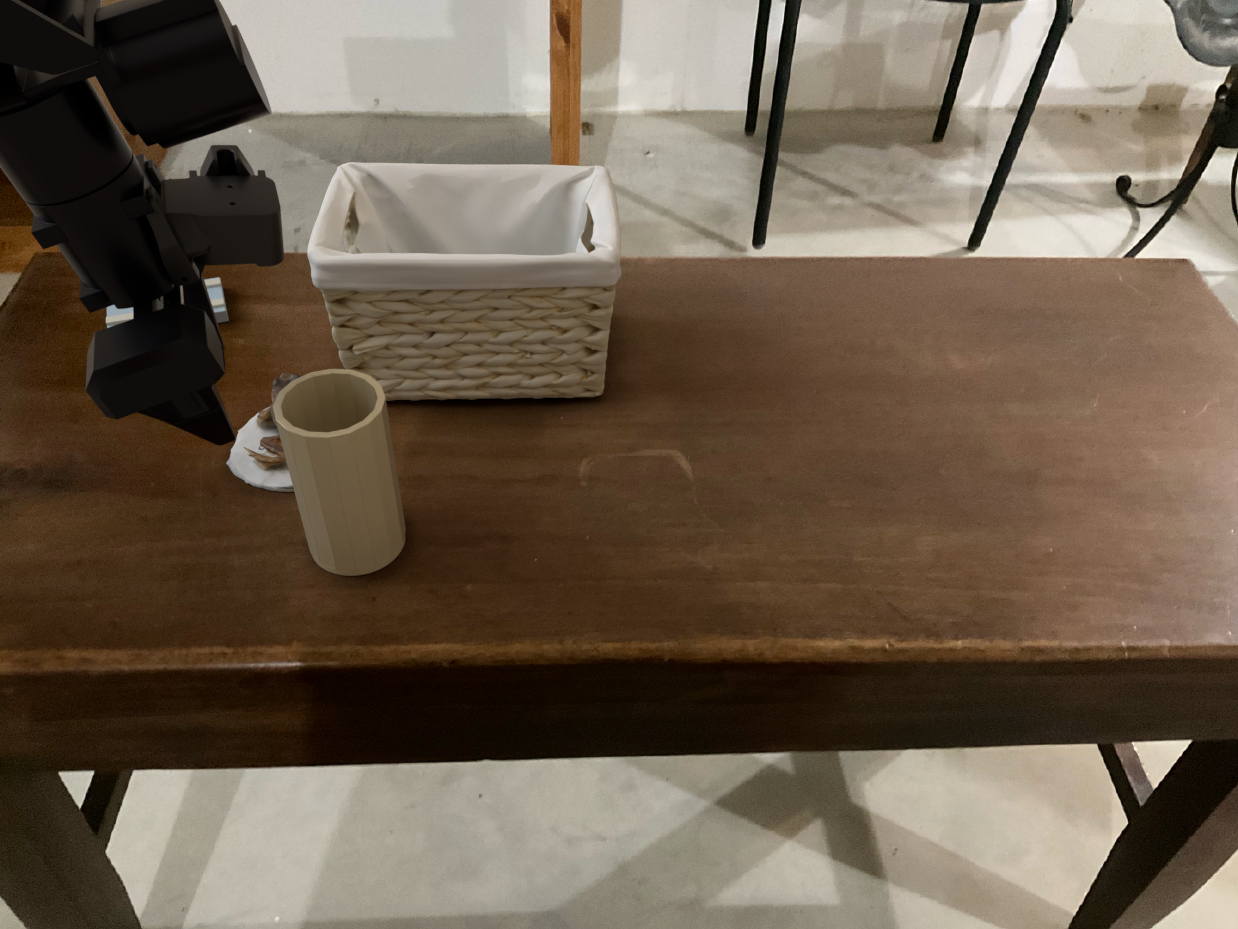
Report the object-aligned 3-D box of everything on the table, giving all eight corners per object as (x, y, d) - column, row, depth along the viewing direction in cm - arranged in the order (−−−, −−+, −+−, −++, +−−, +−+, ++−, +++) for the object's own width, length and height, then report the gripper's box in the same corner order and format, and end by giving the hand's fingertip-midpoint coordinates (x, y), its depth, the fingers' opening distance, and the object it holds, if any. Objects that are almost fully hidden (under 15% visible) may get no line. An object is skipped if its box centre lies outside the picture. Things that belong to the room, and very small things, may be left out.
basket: (330, 411, 80) (298, 255, 69) (358, 302, 91) (334, 155, 81) (617, 410, 81) (626, 258, 71) (607, 304, 93) (614, 160, 83)
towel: (111, 341, 85) (105, 327, 84) (110, 305, 89) (105, 291, 88) (229, 321, 88) (225, 307, 87) (222, 287, 92) (219, 273, 91)
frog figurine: (214, 418, 78) (202, 381, 76) (359, 383, 82) (353, 347, 80) (238, 510, 71) (226, 473, 68) (397, 467, 75) (391, 431, 72)
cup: (317, 586, 66) (281, 447, 57) (303, 519, 71) (267, 380, 62) (415, 561, 68) (394, 423, 59) (394, 497, 73) (372, 360, 64)
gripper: (247, 207, 43) (370, 443, 55) (220, 57, 56) (325, 273, 67) (0, 292, 42) (179, 515, 53) (30, 118, 54) (170, 329, 66)
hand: (222, 394), depth 60 cm, fingers open, 9 cm apart
